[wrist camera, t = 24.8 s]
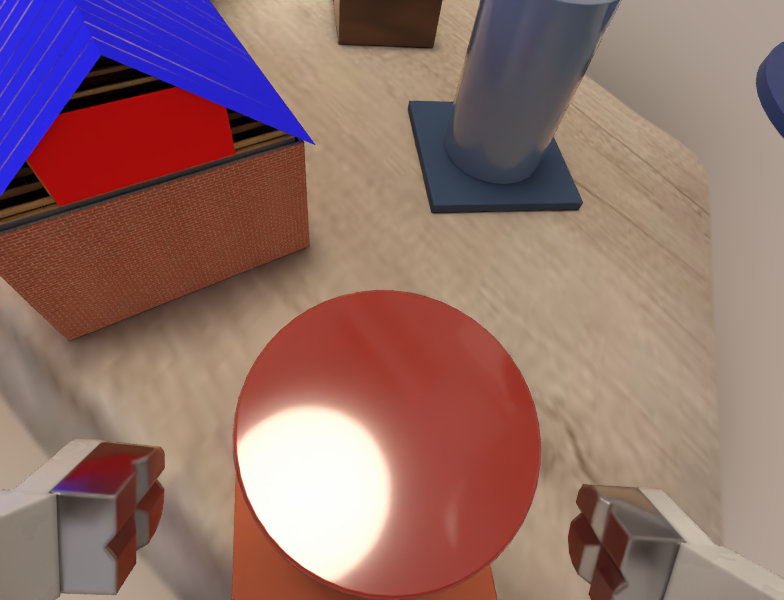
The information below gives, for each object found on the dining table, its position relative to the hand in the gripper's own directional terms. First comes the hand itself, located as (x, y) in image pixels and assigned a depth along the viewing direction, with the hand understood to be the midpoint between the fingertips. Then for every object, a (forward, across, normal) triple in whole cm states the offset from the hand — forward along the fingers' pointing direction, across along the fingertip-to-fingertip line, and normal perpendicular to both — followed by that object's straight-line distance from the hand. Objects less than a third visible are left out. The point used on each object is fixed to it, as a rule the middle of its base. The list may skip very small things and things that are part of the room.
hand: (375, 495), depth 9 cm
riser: (+32, +1, -18) cm, 37 cm away
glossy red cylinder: (+7, 0, +6) cm, 9 cm away
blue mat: (+22, -6, -9) cm, 25 cm away
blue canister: (+22, -6, -9) cm, 25 cm away
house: (+20, +14, -6) cm, 25 cm away
